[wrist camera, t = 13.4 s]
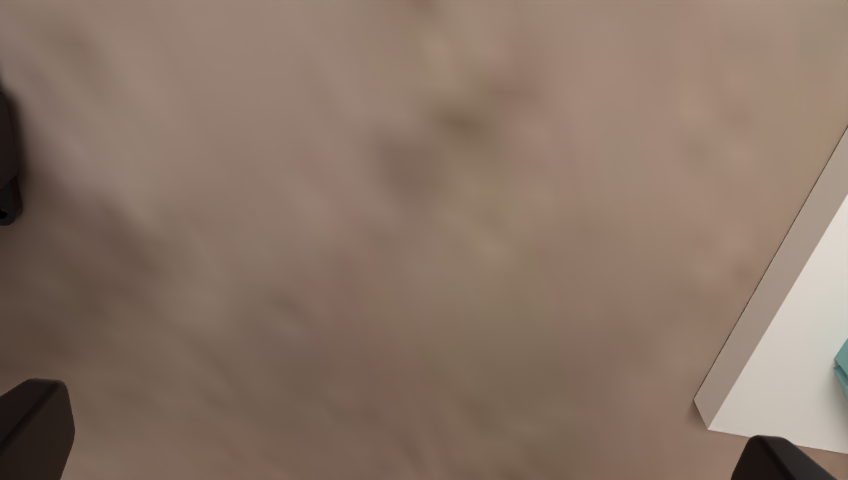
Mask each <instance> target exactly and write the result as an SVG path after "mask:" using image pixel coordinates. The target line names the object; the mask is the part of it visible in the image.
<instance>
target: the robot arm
mask: <svg viewBox="0 0 848 480" xmlns="http://www.w3.org/2000/svg"><path fill="white" fill-rule="evenodd" d="M18 172H19V165H18V160H17V155H16V150H15V145H14V140H13V135H12V130H11V125H10V120H9V115H8V110H7V105H6V100H5V95H4V93H3V92H2V91H1V89H0V205H2V206H3V207H5V208H6V210H7V212H8V213H7V212H3V211H2V210H0V226H5V225H10V224H11V223H13V222H14V221H15V220H16V219H17V218H18V217H19V216H20V214H21V213H22V203H21V198H20V193H19V188H18V183H17V179H16V174H17V173H18ZM74 435H75V426H74V420H73V415H72V409H71V404H70V399H69V394H68V389H67V386H66V385H65V383H64V382H62V381H60V380H51V379H38V378H33V379H29V380H26V381H24V382H23V383H21V384H19V385H18V386H16V387H15V388H13V389H12V390H10V391H8V392H7V393H5V394H4V395H2V396H1V397H0V480H60V479H61V476H62V473H63V470H64V468H65V465H66V462H67V459H68V456H69V454H70V451H71V448H72V445H73V441H74ZM731 480H837V479H836V478H835V477H833V476H832V475H831V474H830V473H828V472H827V471H826V470H825V469H824V468H822V467H821V466H820V465H819V464H817V463H816V462H815V461H814V460H812V459H811V458H810V457H809V456H807V455H806V454H805V453H804V452H803V451H801V450H800V449H799V448H798V447H796V446H795V445H794V444H793V443H791V442H790V441H789V440H787V439H785V438H783V437H779V436H767V435H755V436H752V437H751V438H750V439H749V440H748V442H747V444H746V446H745V448H744V450H743V452H742V454H741V457H740V459H739V461H738V463H737V465H736V467H735V469H734V471H733V474H732V477H731Z"/></svg>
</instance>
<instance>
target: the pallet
mask: <svg viewBox="0 0 848 480" xmlns="http://www.w3.org/2000/svg"><path fill="white" fill-rule="evenodd" d="M694 401H695V404H696V406H697V408H698V410H699V412H700V414H701V417H702V419H703V421H704V423H705V425H706V427H707V430H713V431H719V432H725V433H730V434H736V435H742V436H747V437H752V436H755V435H767V436H779V437H783V438H785V439H787V440H789V441H790V442H791V443H793V444H794V445H799V446H805V447H811V448H816V449H822V450H828V451H833V452H839V453H845V454H848V128H847V130H846V131H845V133H844V135H843V137H842V138H841V140H840V142H839V144H838V145H837V147H836V149H835V151H834V153H833V154H832V156H831V158H830V160H829V161H828V163H827V165H826V167H825V168H824V170H823V172H822V174H821V175H820V177H819V179H818V181H817V183H816V184H815V186H814V188H813V190H812V191H811V193H810V195H809V197H808V198H807V200H806V202H805V204H804V206H803V207H802V209H801V211H800V213H799V214H798V216H797V218H796V220H795V221H794V223H793V225H792V227H791V228H790V230H789V232H788V234H787V236H786V237H785V239H784V241H783V243H782V244H781V246H780V248H779V250H778V251H777V253H776V255H775V257H774V259H773V260H772V262H771V264H770V266H769V267H768V269H767V271H766V273H765V274H764V276H763V278H762V280H761V281H760V283H759V285H758V287H757V289H756V290H755V292H754V294H753V296H752V297H751V299H750V301H749V303H748V304H747V306H746V308H745V310H744V311H743V313H742V315H741V317H740V319H739V320H738V322H737V324H736V326H735V327H734V329H733V331H732V333H731V334H730V336H729V338H728V340H727V342H726V343H725V345H724V347H723V349H722V350H721V352H720V354H719V356H718V357H717V359H716V361H715V363H714V364H713V366H712V368H711V370H710V372H709V373H708V375H707V377H706V379H705V380H704V382H703V384H702V386H701V387H700V389H699V391H698V393H697V395H696V396H695V398H694Z"/></svg>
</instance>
